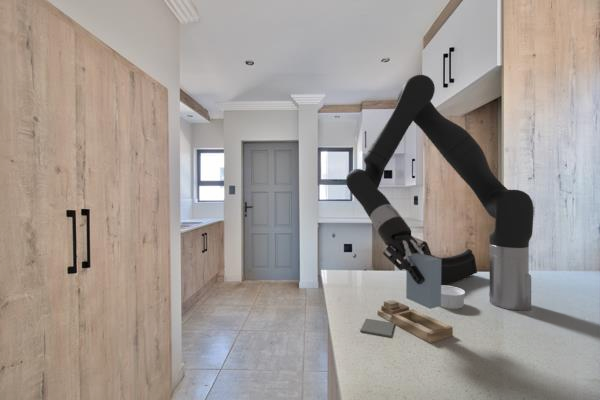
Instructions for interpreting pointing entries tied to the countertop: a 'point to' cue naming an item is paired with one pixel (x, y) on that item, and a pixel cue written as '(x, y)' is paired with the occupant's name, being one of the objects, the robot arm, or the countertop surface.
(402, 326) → the rack
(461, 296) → the ramekin
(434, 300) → the blue-grey rectangular block
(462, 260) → the magazine
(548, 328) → the countertop surface
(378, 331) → the pad
